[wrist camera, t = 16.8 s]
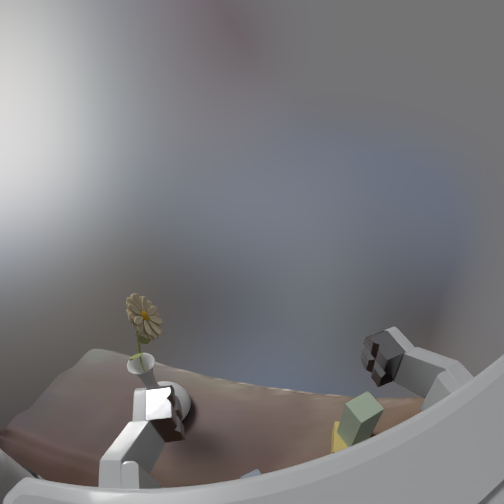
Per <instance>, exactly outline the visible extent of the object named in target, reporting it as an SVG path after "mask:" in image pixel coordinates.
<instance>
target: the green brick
mask: <svg viewBox="0 0 504 504" xmlns="http://www.w3.org/2000/svg"><path fill="white" fill-rule="evenodd" d="M383 410H384V408H383V407H382V406H381V405H380V404H379V403H378V402H377V401H376V400H375V399H374V397H373V396H372V395H371V394H370V393H369V392H368V391H367V392H365V393H364V394H362V395H360V396H358V397H356V398H354V399H353V400H351V401H349V402H347V403H345V406H344V410H343V413H342V416H341V420H340V423H339V426H338V429H337V433H338V435H339V436H340V437H341V439H342V440H343V441H344V443H345V444H346V445H347V447H350V446H353V445H355V444H357V443H360V442H362V441H364V440H366V439H368V438H369V437H370V436H371V434H372V432H373V430H374V428H375V426H376V424H377V422H378V420H379V418H380V416H381V414H382V412H383Z"/></svg>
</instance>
